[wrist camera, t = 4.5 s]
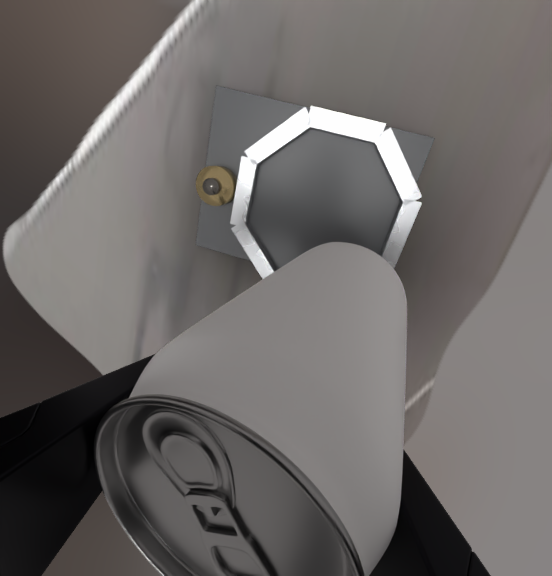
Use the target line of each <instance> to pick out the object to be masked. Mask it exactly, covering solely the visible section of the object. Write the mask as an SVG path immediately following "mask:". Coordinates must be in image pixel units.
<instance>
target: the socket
mask: <svg viewBox="0 0 552 576" xmlns="http://www.w3.org/2000/svg"><path fill="white" fill-rule="evenodd" d="M385 125H386V124H385V123H381V122H377V121H373V120H369V119H365V118H360V117H356V116H352V115H348V114H344V113H340V112H335V111H331V110H327V109H323V108H319V107H314V106H311V108H310V112H309V113H308V112H307V110H306V108H305V107H304V108H303V109H302V110H300V111H299V112H297V113H296V114H295V115H293V116H292V117H291V118H289V119H288V120H286V121H285V122H284V123H282V124H281V125H280V126H278V127H277V128H275V129H274V130H273V131H271V132H270V133H269V134H267V135H266V136H265V137H263V138H262V139H260V140H259V141H258V142H256V143H255V144H254V145H252V146H251V147H249V148H248V149H247V150H245V153H246V155H247V156H248V157H244V156H242V157H241V163H240V169H239V174H238V180H237V186H236V192H235V198H234V203H233V209H232V215H231V221H230V224H233V225H236V226H234V227H233V228H231V229H232V231H233V233H234V234H235V236H236V237H237V239H238V241H239V242H240V244H241V245H242V247H243V248H244V250H245V252H246V253H247V255H248V256H249V258H250V260H251V261H252V263H253V264H254V266H255V268H256V269H257V271H258V272H259V274H260V276H261V277H262V279H264V278H266V277H267V276H269V275H270V274H272V273H273V272H275V271H276V270H278V269H277V268H276V267H275V265H274V264H273V262H272V260H271V259H270V257H269V256H268V254H267V252H266V251H265V249H264V247H263V246H262V244H261V242H260V241H259V239H258V237H257V236H256V234H255V233H254V231H253V229H252V228H251V226H250V224H249V223H248V221H249V216H250V211H251V206H252V201H253V195H254V190H255V185H256V180H257V175H258V170H259V165H260V164H261V163H262V162H264V161H265V160H267V159H268V158H269V157H271V156H272V155H274V154H275V153H277V152H278V151H280V150H281V149H282V148H284V147H285V146H287V145H288V144H290V143H291V142H292V141H294V140H295V139H297V138H298V137H300V136H301V135H303V134H304V133H305V132H307V131H308V130H310V129H315V130H319V131H323V132H327V133H331V134H336V135H340V136H344V137H348V138H352V139H356V140H360V141H364V142H368V143H372V144H374V146H375V148H376V150H377V152H378V154H379V157H380V159H381V161H382V163H383V165H384V167H385V169H386V171H387V173H388V176H389V178H390V180H391V182H392V184H393V186H394V188H395V190H396V193H397V195H398V197H399V199H400V204H399V206H398V209H397V211H396V214H395V216H394V219H393V222H392V224H391V227H390V229H389V232H388V234H387V237H386V239H385V242H384V245H383V247H382V250H381V252H380V256H381V257H382V258H383V259H385V260H386V261H387V262H388V263H389V264H390V265H391V266H392V268H393V269H394V268H395V266H396V263H397V261H398V259H399V256H400V254H401V252H402V249H403V247H404V244H405V242H406V240H407V237H408V235H409V232H410V230H411V228H412V225H413V223H414V221H415V218H416V216H417V213H418V211H419V209H420V206H421V204H422V203H421V202H419V201H415V200H417V199H419V198H421V197H422V195H421V193H420V191H419V189H418V187H417V184H416V182H415V180H414V178H413V176H412V173H411V171H410V169H409V167H408V164H407V162H406V160H405V158H404V156H403V153H402V151H401V149H400V147H399V145H398V142H397V140H396V138H395V136H394V134H393V131H392V129H391V128H389V129H387V130H386V131H384V128H385ZM383 131H384V132H383Z"/></svg>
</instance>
